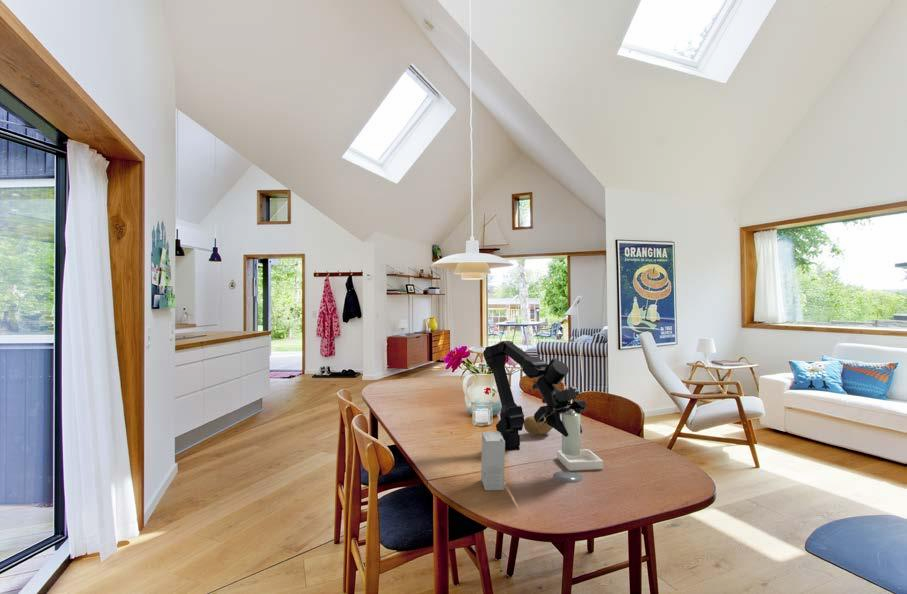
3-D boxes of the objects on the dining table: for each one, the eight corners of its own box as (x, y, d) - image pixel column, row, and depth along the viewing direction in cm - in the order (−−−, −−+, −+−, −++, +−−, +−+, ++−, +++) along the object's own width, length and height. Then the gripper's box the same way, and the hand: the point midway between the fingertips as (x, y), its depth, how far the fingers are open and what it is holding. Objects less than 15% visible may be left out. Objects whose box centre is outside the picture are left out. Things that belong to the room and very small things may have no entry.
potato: (560, 435, 182) (560, 416, 182) (532, 440, 176) (532, 420, 176) (546, 429, 191) (545, 410, 191) (518, 433, 184) (518, 414, 185)
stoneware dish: (569, 472, 143) (569, 462, 143) (557, 459, 154) (557, 450, 154) (603, 470, 144) (603, 460, 144) (588, 458, 155) (588, 449, 155)
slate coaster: (558, 485, 133) (558, 483, 133) (548, 473, 142) (548, 471, 142) (587, 483, 134) (587, 481, 134) (576, 472, 143) (576, 470, 143)
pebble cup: (566, 456, 137) (566, 412, 137) (558, 450, 142) (559, 407, 142) (583, 455, 138) (583, 411, 138) (575, 448, 143) (575, 406, 143)
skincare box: (480, 480, 137) (480, 431, 137) (499, 479, 138) (499, 431, 138) (485, 491, 129) (485, 440, 129) (505, 490, 129) (505, 439, 129)
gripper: (539, 381, 139) (565, 425, 129) (583, 375, 148) (609, 416, 139) (523, 401, 146) (546, 444, 136) (565, 394, 155) (590, 435, 145)
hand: (574, 434), depth 139 cm, fingers closed on pebble cup, 6 cm apart
